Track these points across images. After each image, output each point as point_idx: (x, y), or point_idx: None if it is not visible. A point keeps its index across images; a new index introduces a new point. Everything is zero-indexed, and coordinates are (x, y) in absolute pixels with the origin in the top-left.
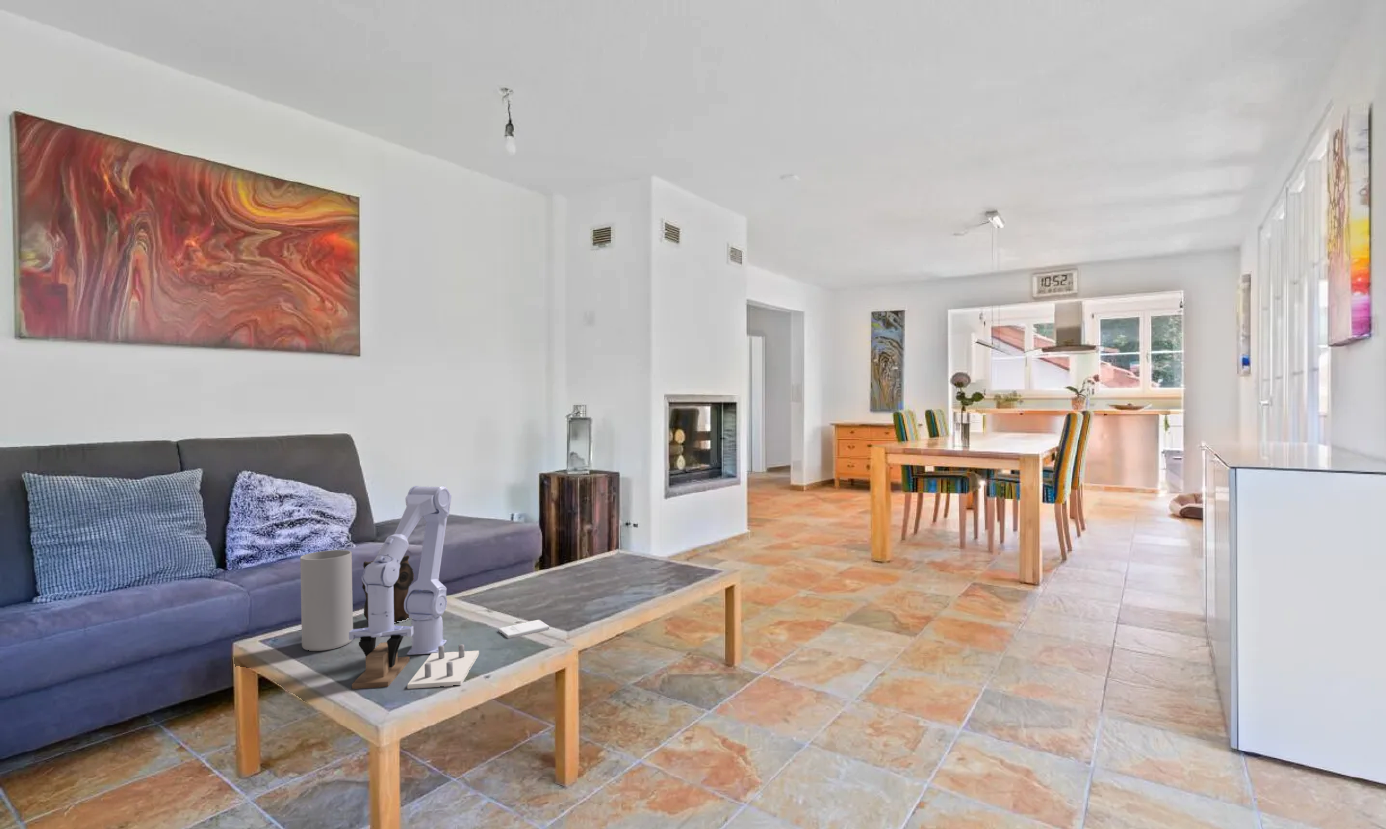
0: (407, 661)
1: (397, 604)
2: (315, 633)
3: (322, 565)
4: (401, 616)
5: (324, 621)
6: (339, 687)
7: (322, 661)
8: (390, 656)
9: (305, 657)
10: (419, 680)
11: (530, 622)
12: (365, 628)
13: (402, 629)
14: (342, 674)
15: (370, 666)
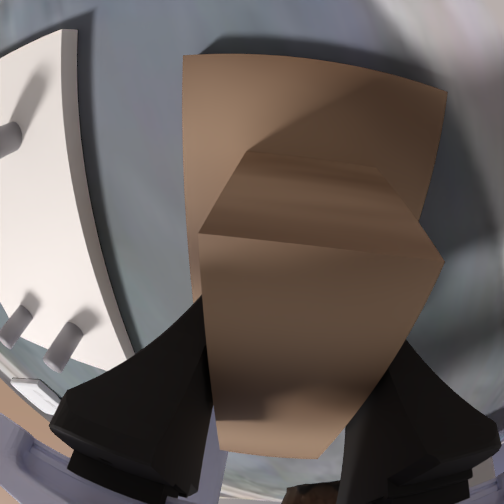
0: None
1: None
2: (480, 463)
3: None
4: (303, 494)
5: None
6: (493, 149)
7: (481, 395)
8: (199, 320)
9: (496, 407)
10: (26, 87)
11: (46, 410)
12: None
13: (17, 500)
14: (468, 310)
15: (361, 195)
